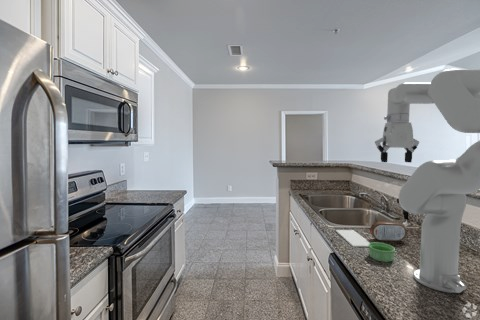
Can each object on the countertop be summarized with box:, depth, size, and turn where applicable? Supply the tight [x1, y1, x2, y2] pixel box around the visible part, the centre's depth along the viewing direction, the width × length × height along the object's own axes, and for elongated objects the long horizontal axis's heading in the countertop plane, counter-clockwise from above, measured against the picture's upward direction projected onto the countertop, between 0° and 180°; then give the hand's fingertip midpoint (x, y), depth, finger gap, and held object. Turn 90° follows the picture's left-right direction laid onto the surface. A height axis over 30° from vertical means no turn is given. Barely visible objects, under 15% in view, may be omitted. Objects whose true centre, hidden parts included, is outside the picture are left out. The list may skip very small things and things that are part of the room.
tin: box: [369, 221, 407, 242], centre depth 117 cm, size 15×3×8 cm, turn 84°
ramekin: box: [368, 241, 396, 263], centre depth 99 cm, size 9×9×4 cm
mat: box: [335, 229, 371, 248], centre depth 119 cm, size 20×9×1 cm, turn 0°
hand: (396, 162), depth 103 cm, fingers open, 9 cm apart
